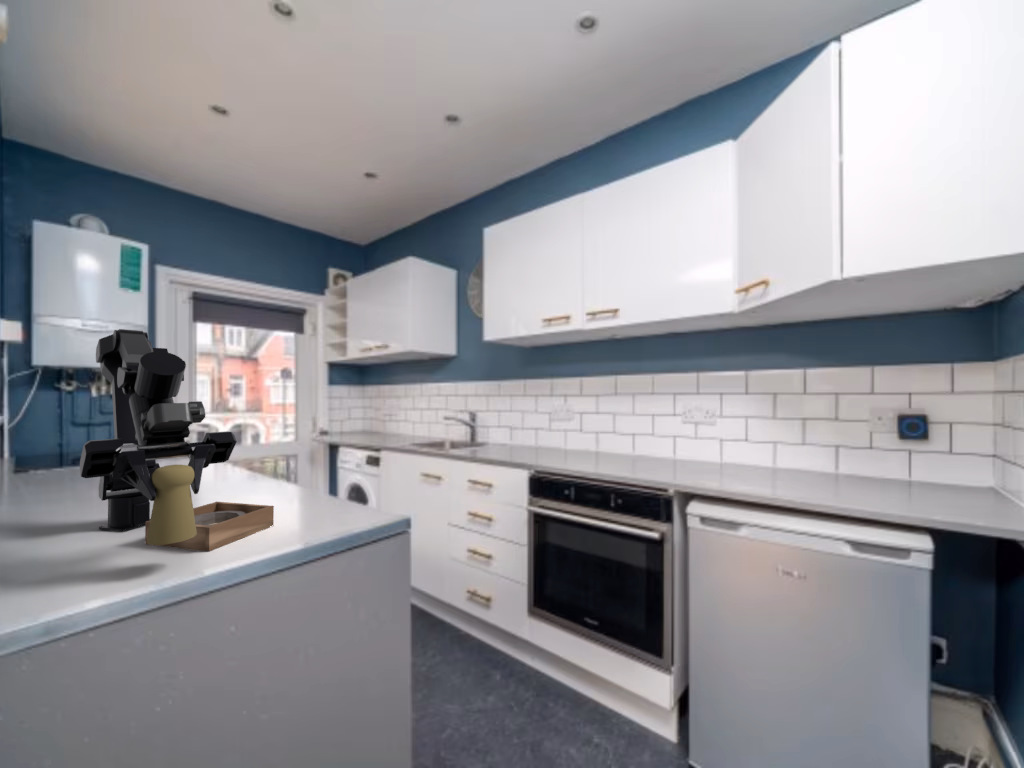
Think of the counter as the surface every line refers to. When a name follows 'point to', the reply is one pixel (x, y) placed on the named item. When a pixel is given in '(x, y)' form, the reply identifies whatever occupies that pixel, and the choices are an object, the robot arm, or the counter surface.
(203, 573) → the counter surface
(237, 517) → the socket box
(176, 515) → the olive knobbed peg
